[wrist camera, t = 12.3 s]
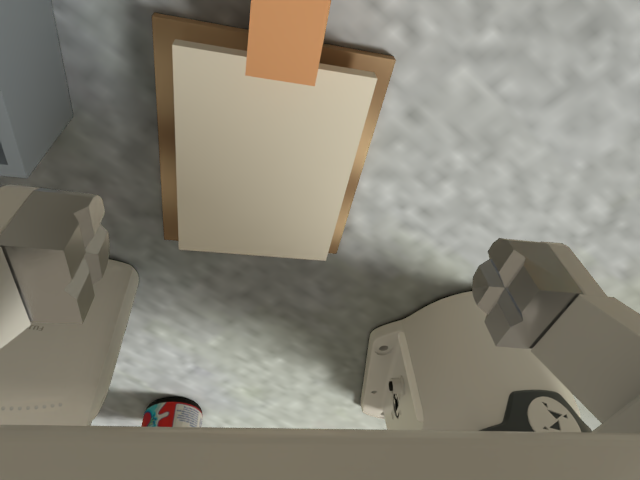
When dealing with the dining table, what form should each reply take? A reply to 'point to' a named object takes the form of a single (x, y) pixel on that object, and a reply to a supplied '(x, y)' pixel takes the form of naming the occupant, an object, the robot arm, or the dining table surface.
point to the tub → (30, 85)
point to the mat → (237, 38)
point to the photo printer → (68, 359)
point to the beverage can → (173, 413)
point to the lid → (266, 136)
